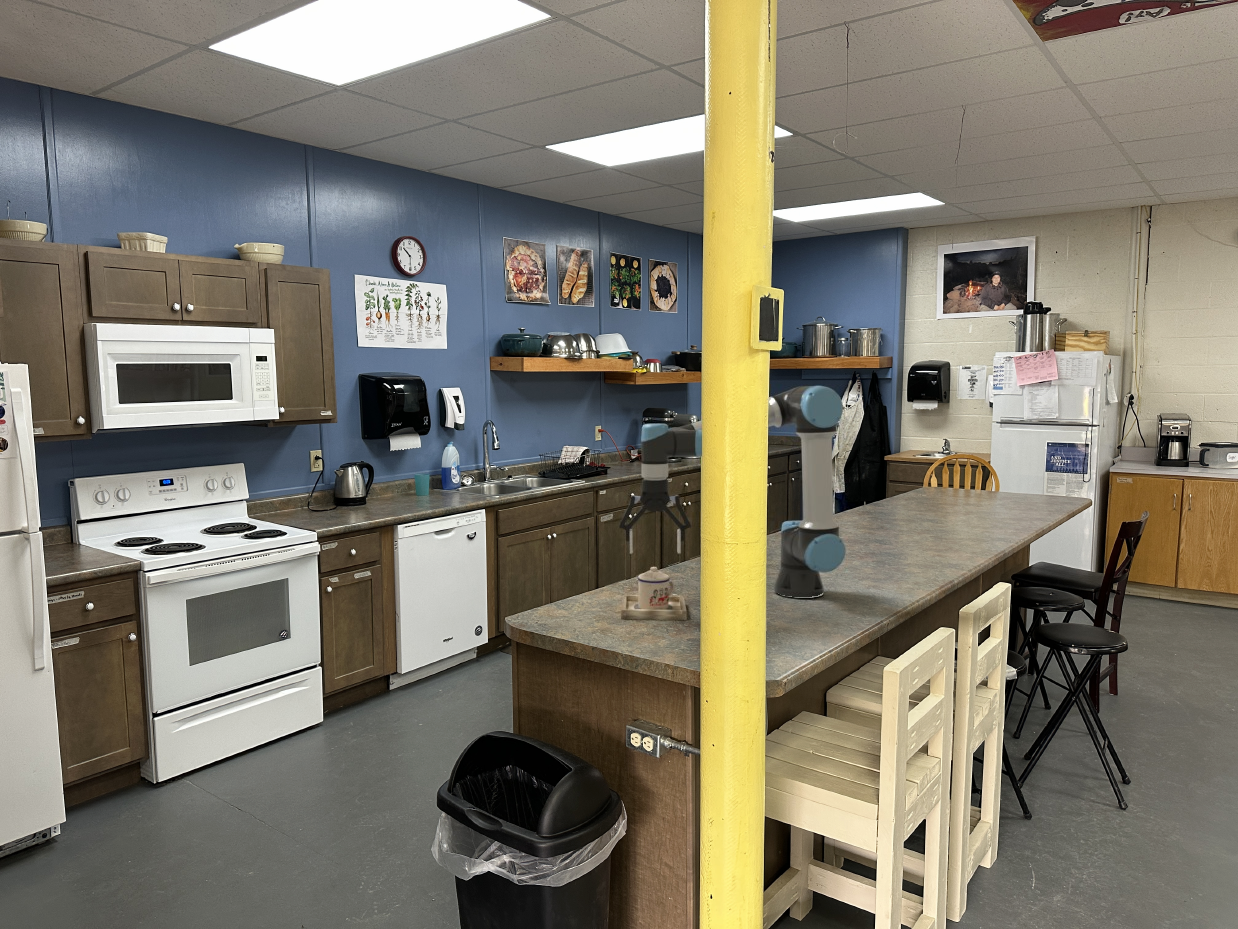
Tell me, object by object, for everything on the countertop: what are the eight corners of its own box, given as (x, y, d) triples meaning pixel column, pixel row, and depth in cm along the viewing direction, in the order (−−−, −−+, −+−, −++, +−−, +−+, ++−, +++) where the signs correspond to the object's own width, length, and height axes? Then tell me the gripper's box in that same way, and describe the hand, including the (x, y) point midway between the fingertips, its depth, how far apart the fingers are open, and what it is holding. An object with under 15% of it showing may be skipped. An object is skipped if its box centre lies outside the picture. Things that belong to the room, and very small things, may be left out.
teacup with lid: (651, 613, 229) (651, 572, 228) (630, 606, 236) (631, 566, 235) (683, 607, 236) (684, 567, 235) (662, 600, 243) (663, 561, 242)
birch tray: (683, 604, 244) (683, 595, 244) (686, 620, 227) (686, 611, 227) (622, 603, 245) (622, 594, 244) (621, 619, 228) (621, 610, 228)
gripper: (698, 476, 236) (698, 549, 238) (611, 477, 237) (611, 550, 239) (700, 479, 228) (700, 555, 230) (610, 480, 229) (610, 555, 231)
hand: (655, 552), depth 235 cm, fingers open, 13 cm apart
